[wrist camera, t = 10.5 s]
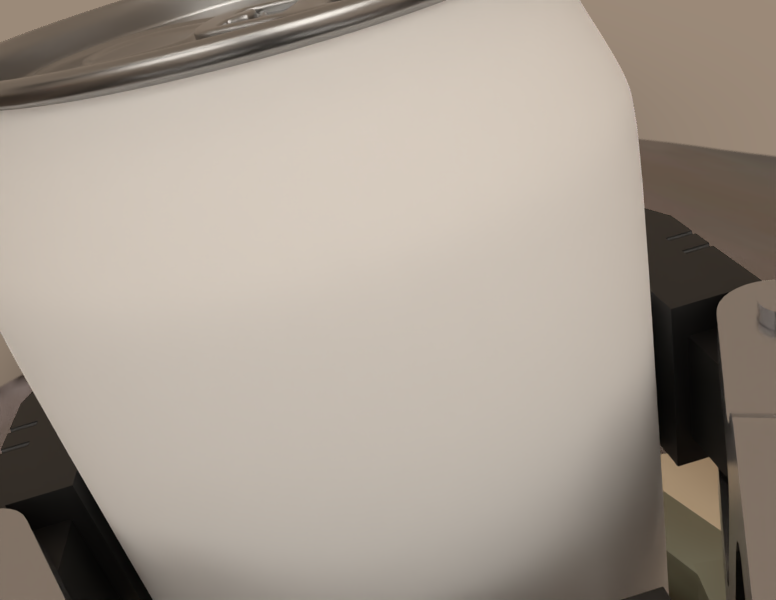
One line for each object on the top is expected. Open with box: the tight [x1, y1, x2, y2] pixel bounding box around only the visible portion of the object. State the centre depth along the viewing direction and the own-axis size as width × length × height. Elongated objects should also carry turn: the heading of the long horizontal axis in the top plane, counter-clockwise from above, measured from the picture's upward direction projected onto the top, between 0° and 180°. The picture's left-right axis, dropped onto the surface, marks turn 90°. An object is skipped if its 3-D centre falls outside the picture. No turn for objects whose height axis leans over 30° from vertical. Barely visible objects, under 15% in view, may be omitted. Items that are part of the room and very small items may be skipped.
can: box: [0, 0, 669, 600], centre depth 10 cm, size 6×6×12 cm
